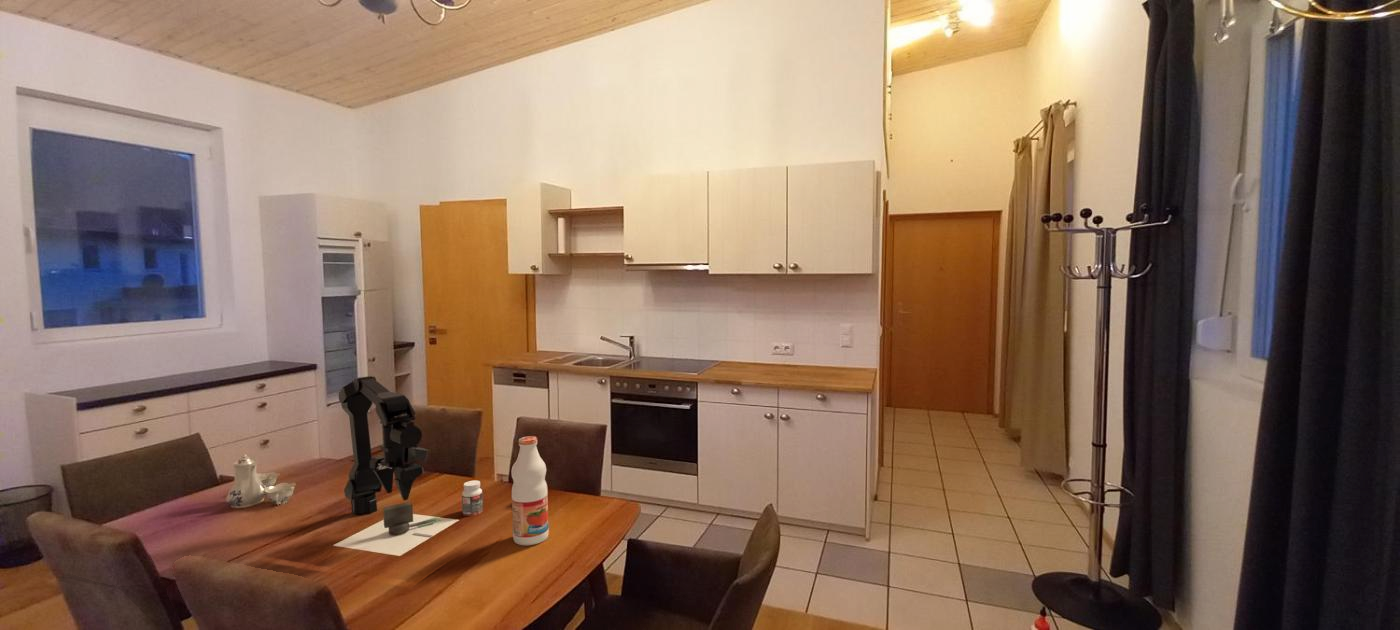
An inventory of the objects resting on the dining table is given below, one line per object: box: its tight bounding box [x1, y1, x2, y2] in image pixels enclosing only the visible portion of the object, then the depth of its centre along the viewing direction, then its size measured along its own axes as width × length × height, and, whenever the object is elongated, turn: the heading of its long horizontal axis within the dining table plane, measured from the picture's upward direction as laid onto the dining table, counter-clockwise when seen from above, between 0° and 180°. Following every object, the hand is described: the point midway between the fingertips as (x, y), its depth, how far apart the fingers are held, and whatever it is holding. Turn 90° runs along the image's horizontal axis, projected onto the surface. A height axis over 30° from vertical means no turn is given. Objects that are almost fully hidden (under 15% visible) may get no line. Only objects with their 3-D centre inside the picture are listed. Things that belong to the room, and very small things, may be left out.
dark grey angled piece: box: [382, 501, 436, 535], centre depth 158 cm, size 13×5×7 cm, turn 125°
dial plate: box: [333, 513, 460, 557], centre depth 157 cm, size 22×22×1 cm
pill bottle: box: [461, 480, 484, 517], centre depth 170 cm, size 6×6×10 cm
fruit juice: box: [511, 435, 550, 546], centre depth 153 cm, size 9×9×28 cm
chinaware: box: [225, 453, 297, 509], centre depth 184 cm, size 28×17×17 cm, turn 57°
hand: (397, 496), depth 156 cm, fingers open, 9 cm apart
